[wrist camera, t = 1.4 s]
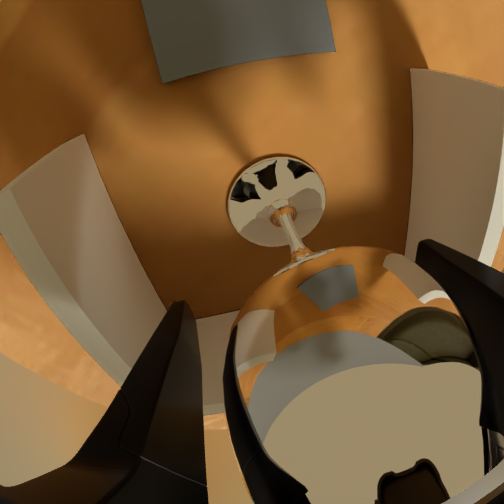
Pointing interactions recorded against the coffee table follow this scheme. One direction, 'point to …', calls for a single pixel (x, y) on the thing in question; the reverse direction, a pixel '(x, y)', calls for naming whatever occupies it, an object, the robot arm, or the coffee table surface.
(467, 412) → the wineglass
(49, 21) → the coffee table surface
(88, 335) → the corner wall
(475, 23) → the coffee table surface
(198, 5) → the felt mat
